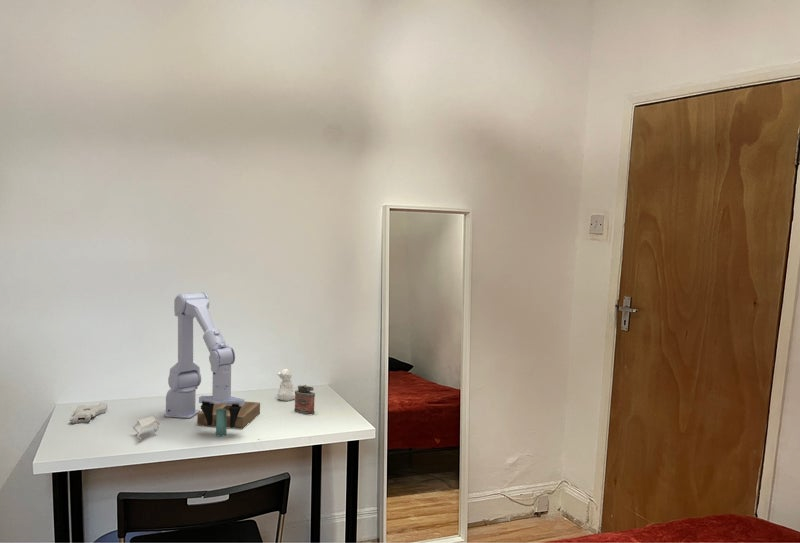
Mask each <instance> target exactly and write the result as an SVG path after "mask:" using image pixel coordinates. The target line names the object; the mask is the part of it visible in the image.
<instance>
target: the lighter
mask: <svg viewBox="0 0 800 543" xmlns="http://www.w3.org/2000/svg"><path fill="white" fill-rule="evenodd" d="M313 391H314V387H313V386H310V385H306V384H304V385H300V384H299V385H297V390H295V391H294V392H295V399H294V409H293V411H295V412H294V413H297V412H298V413H297V414H301V413H303V415H307V414H313V415H315V412H316V411H315V398H316V393H315V392H313Z"/></svg>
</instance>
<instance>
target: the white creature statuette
mask: <svg viewBox="0 0 800 543" xmlns="http://www.w3.org/2000/svg"><path fill="white" fill-rule="evenodd" d="M276 375H277V376H279V378H280V379H281V380H282V381H281V382H280V384H279V388H278V392H277V394H276V396H277V399H278V400H279V399H280V401H281V400H283V401H282V402H288V400H290V401H294V400H295V391H293V387H294V384H293V382H292V380H291V379H292V376H293V375H292V373H291V371H290V370H289V369H288V368H284V369H282V370H280V371H277V374H276ZM293 399H294V400H293Z"/></svg>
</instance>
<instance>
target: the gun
mask: <svg viewBox="0 0 800 543" xmlns="http://www.w3.org/2000/svg"><path fill="white" fill-rule="evenodd" d="M107 409H108V403H105V402H100V403H99V404H95V405H94V404H93V405H86V404H82V405H78V406H77V408H76V409H75V410H73V414H72V415H73V416H72V417H71V418H69V421H70V422H71V423H73V424H82V423H88V422H90V421H91V418H94V417H96V416H98V415H102V414H104V413H106V411H107Z"/></svg>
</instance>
